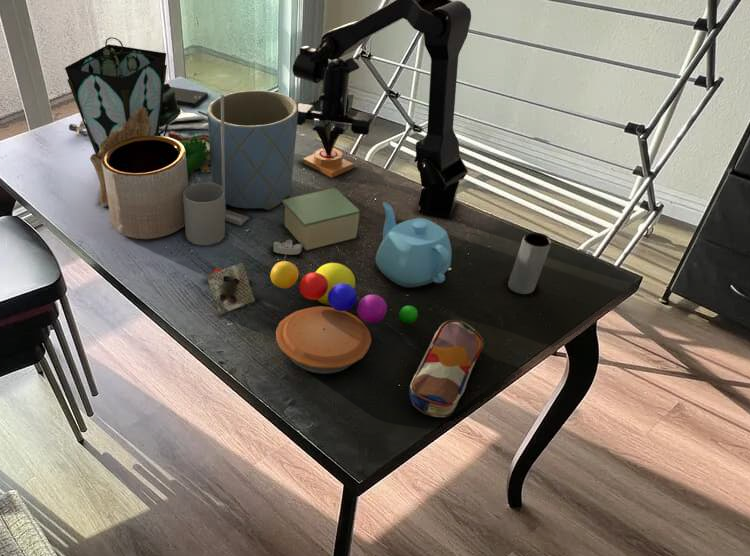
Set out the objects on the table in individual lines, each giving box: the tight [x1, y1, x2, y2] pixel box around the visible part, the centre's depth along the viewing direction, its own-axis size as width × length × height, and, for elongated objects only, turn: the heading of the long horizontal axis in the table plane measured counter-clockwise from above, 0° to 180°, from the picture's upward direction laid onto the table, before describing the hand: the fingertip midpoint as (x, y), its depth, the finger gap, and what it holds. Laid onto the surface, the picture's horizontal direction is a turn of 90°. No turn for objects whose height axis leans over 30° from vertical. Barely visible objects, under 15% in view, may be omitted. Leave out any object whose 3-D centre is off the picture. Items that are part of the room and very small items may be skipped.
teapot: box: [375, 201, 452, 288], centre depth 127 cm, size 13×11×18 cm
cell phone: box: [170, 86, 209, 107], centre depth 199 cm, size 9×18×1 cm, turn 62°
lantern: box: [64, 36, 168, 154], centre depth 160 cm, size 17×17×30 cm
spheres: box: [269, 260, 419, 324], centre depth 118 cm, size 25×8×17 cm
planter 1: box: [102, 135, 190, 240], centre depth 144 cm, size 18×18×16 cm
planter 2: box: [206, 89, 299, 211], centre depth 149 cm, size 19×19×20 cm
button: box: [321, 151, 336, 158], centre depth 162 cm, size 4×4×2 cm
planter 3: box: [507, 232, 553, 295], centre depth 121 cm, size 4×4×10 cm
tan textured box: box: [206, 262, 256, 316], centre depth 127 cm, size 8×8×6 cm
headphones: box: [159, 83, 182, 137], centre depth 173 cm, size 13×13×20 cm
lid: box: [281, 187, 361, 227], centre depth 138 cm, size 12×10×1 cm
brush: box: [220, 93, 250, 226], centre depth 140 cm, size 4×28×9 cm
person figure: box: [68, 119, 88, 136], centre depth 184 cm, size 12×15×3 cm
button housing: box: [302, 147, 354, 179], centre depth 162 cm, size 10×7×3 cm
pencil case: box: [409, 319, 485, 418], centre depth 106 cm, size 11×20×5 cm, turn 163°
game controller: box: [272, 239, 303, 261], centre depth 134 cm, size 6×12×3 cm, turn 2°
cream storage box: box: [284, 205, 360, 251], centre depth 140 cm, size 11×10×6 cm
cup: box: [183, 181, 226, 246], centre depth 141 cm, size 8×8×10 cm
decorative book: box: [177, 132, 211, 174], centre depth 165 cm, size 13×18×5 cm
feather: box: [169, 127, 191, 135], centre depth 169 cm, size 2×28×2 cm
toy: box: [180, 135, 209, 184], centre depth 150 cm, size 17×9×15 cm, turn 32°
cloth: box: [159, 108, 208, 130], centre depth 187 cm, size 26×14×2 cm, turn 38°
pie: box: [275, 305, 372, 375], centre depth 113 cm, size 16×16×5 cm
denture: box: [167, 130, 184, 140], centre depth 173 cm, size 6×4×8 cm
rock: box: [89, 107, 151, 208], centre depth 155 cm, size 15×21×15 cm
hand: (328, 153), depth 161 cm, fingers closed, pressing on button
